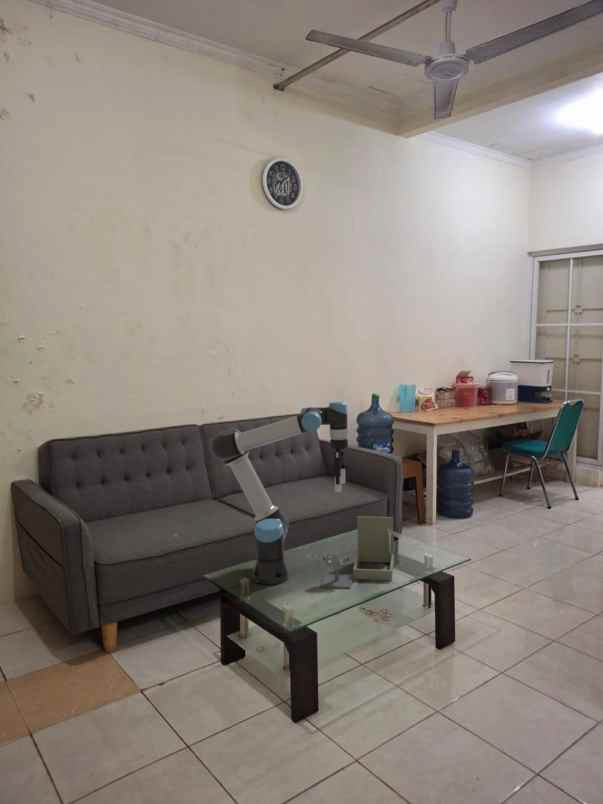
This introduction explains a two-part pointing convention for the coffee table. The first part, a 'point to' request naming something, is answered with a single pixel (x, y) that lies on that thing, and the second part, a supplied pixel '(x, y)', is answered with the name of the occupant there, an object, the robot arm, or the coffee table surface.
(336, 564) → the mechanical component
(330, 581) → the mat
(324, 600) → the coffee table surface
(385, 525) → the case
